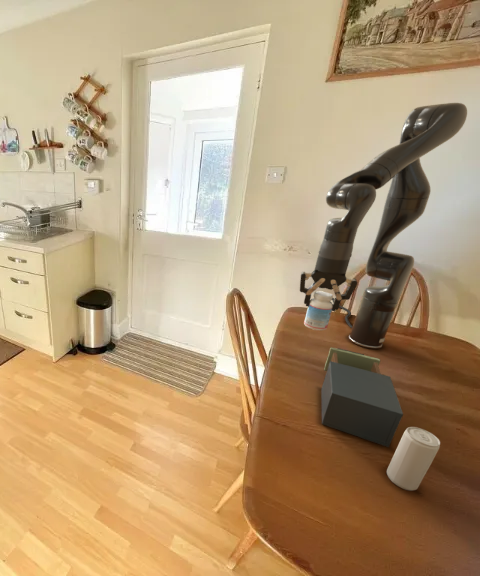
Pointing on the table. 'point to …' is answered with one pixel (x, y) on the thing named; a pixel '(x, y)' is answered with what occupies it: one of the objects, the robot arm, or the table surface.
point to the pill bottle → (319, 311)
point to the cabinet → (360, 403)
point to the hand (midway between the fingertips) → (319, 307)
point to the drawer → (353, 360)
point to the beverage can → (413, 458)
